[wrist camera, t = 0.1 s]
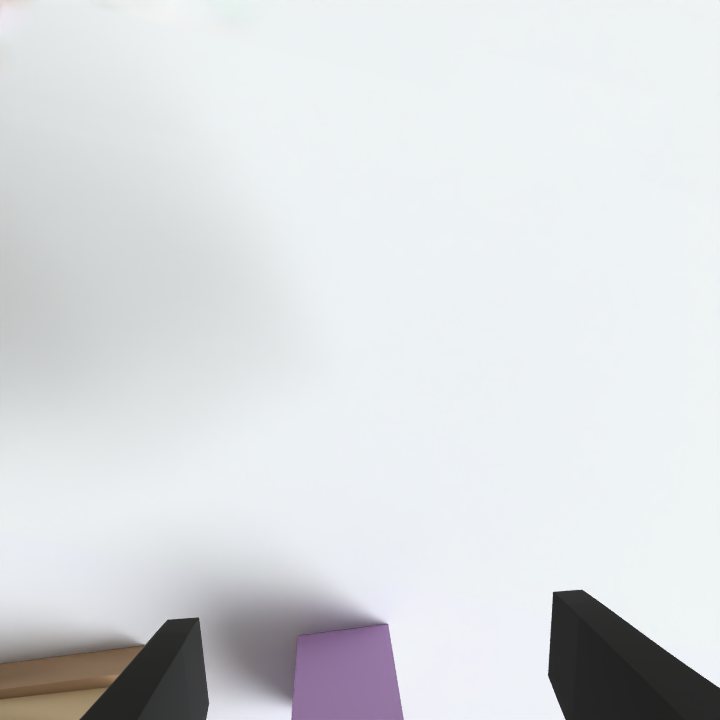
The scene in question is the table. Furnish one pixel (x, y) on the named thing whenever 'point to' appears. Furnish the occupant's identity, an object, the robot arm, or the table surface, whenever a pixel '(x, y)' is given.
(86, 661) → the walnut tile
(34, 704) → the oak tile
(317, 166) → the table surface
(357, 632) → the purple block
